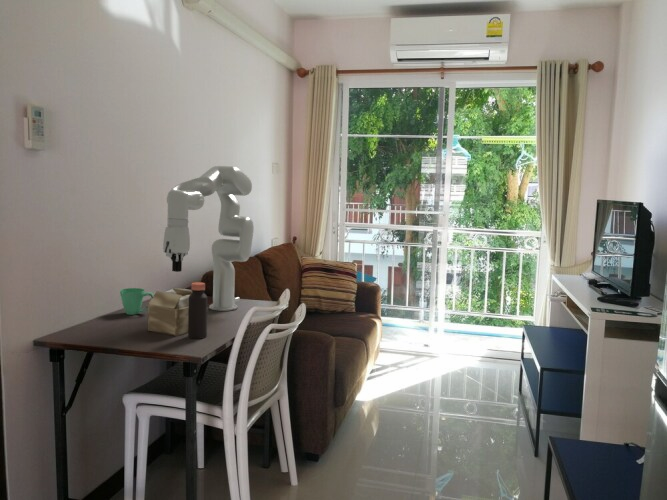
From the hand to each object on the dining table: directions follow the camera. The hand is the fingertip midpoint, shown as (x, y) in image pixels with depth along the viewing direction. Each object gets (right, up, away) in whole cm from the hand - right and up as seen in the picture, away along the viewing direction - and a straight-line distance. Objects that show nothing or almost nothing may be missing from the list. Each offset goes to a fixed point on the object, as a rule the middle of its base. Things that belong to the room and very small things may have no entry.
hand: (176, 271), depth 212 cm
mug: (-24, -19, +24) cm, 39 cm away
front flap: (-3, -11, -4) cm, 12 cm away
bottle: (+9, -24, -6) cm, 27 cm away
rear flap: (+2, -10, +7) cm, 12 cm away
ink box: (-5, -21, +21) cm, 30 cm away
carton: (-1, -23, +3) cm, 23 cm away
